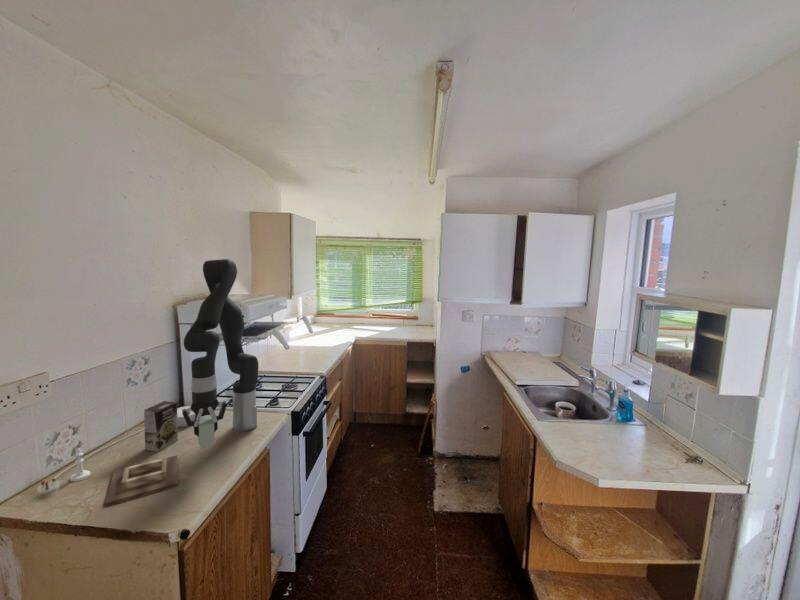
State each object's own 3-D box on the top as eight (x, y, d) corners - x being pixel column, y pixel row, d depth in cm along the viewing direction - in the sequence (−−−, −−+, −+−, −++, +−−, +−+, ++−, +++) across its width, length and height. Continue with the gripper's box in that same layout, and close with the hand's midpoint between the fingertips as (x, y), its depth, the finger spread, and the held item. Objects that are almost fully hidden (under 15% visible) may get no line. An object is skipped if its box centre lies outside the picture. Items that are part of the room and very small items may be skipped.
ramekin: (189, 429, 144) (188, 417, 144) (163, 427, 144) (163, 416, 144) (204, 417, 155) (204, 406, 155) (181, 415, 156) (180, 405, 155)
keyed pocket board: (177, 457, 124) (177, 448, 123) (178, 485, 109) (177, 475, 108) (114, 473, 113) (113, 463, 113) (105, 506, 99) (105, 495, 98)
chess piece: (79, 472, 113) (77, 444, 112) (94, 472, 114) (92, 444, 112) (65, 481, 108) (63, 452, 107) (82, 481, 109) (80, 452, 108)
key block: (212, 435, 122) (211, 415, 121) (214, 444, 117) (214, 423, 116) (198, 439, 120) (197, 418, 119) (200, 448, 114) (199, 426, 113)
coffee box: (158, 452, 126) (157, 412, 125) (144, 449, 128) (142, 409, 126) (178, 440, 135) (177, 402, 133) (165, 437, 136) (164, 400, 135)
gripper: (225, 380, 123) (226, 423, 125) (179, 387, 115) (181, 434, 117) (228, 387, 117) (230, 432, 119) (180, 395, 108) (182, 444, 111)
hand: (206, 433), depth 118 cm, fingers closed on key block, 4 cm apart
